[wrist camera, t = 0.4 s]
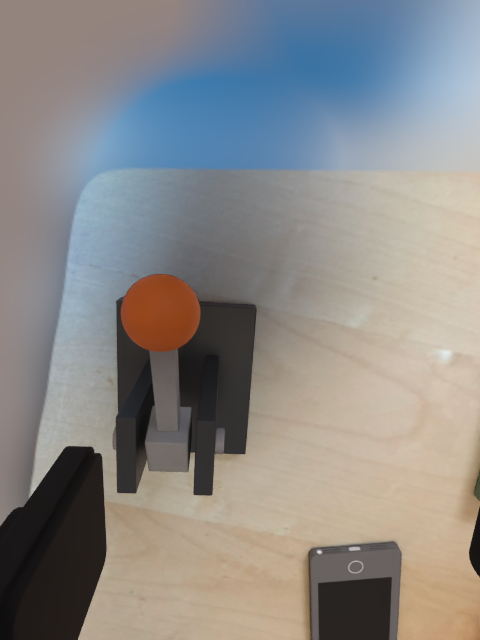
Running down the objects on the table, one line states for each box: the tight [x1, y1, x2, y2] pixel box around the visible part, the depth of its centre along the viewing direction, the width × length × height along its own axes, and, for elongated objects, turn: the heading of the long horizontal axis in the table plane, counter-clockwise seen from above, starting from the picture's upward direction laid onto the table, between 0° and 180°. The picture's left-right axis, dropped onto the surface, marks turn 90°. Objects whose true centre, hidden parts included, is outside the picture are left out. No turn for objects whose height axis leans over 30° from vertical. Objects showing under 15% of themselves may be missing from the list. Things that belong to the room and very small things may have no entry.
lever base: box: [113, 298, 256, 495], centre depth 25 cm, size 12×10×11 cm
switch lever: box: [121, 274, 200, 472], centre depth 19 cm, size 12×3×3 cm, turn 176°
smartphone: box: [309, 543, 402, 640], centre depth 36 cm, size 15×8×1 cm, turn 4°
